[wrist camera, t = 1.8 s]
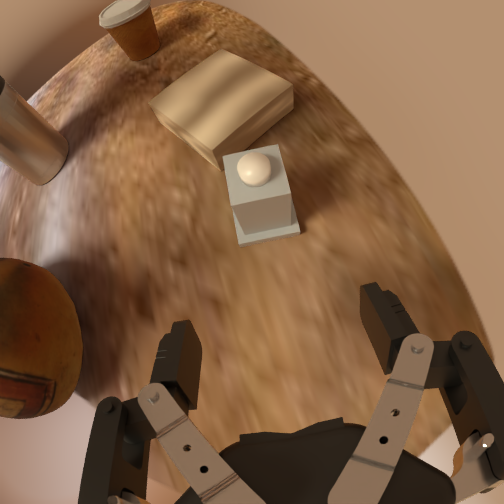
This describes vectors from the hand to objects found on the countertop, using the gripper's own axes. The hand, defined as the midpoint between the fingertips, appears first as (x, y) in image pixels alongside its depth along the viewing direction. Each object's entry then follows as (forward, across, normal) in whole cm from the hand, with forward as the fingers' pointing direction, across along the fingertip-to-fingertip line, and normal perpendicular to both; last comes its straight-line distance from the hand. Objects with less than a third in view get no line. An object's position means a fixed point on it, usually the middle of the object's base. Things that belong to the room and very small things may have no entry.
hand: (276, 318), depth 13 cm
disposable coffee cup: (+47, +15, -24) cm, 55 cm away
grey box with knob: (+20, 0, +3) cm, 20 cm away
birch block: (+31, +2, -8) cm, 32 cm away
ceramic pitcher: (+13, +32, +10) cm, 36 cm away
